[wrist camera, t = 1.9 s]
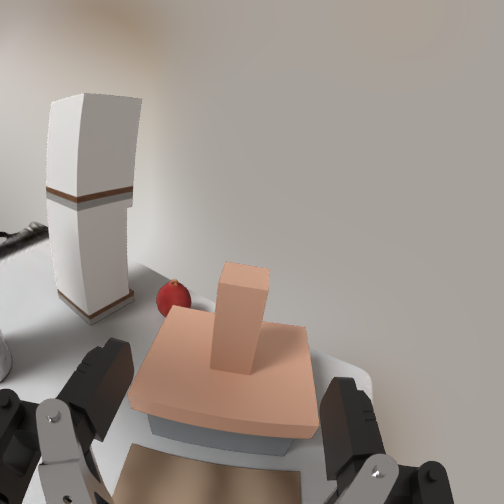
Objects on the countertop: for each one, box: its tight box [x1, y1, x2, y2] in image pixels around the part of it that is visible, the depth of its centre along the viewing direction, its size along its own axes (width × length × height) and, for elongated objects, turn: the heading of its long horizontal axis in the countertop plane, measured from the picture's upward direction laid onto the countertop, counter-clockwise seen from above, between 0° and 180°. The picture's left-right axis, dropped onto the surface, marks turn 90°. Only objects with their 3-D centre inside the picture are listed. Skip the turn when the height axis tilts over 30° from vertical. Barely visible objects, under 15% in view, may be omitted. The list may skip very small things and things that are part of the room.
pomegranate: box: [156, 279, 191, 317], centre depth 44 cm, size 6×6×8 cm
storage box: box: [148, 414, 294, 456], centre depth 30 cm, size 15×13×8 cm
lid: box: [128, 262, 319, 439], centre depth 26 cm, size 17×15×12 cm
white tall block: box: [46, 93, 142, 325], centre depth 39 cm, size 11×11×35 cm
